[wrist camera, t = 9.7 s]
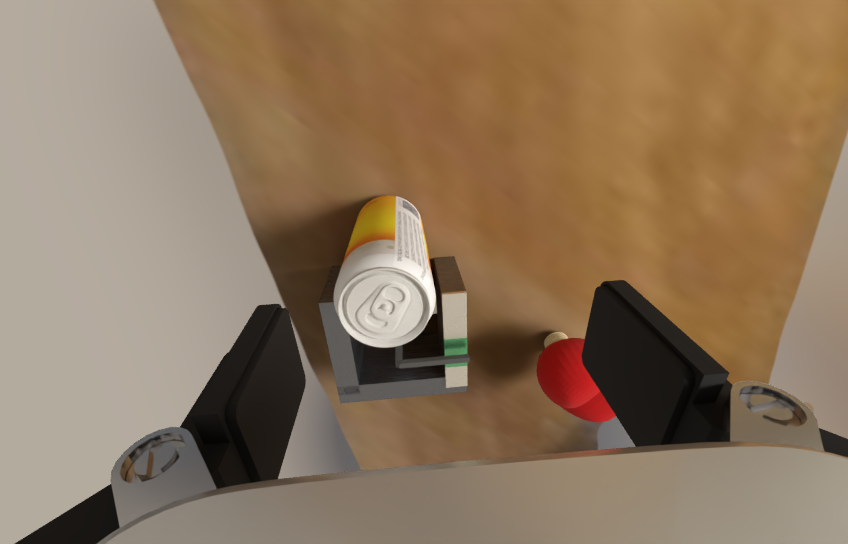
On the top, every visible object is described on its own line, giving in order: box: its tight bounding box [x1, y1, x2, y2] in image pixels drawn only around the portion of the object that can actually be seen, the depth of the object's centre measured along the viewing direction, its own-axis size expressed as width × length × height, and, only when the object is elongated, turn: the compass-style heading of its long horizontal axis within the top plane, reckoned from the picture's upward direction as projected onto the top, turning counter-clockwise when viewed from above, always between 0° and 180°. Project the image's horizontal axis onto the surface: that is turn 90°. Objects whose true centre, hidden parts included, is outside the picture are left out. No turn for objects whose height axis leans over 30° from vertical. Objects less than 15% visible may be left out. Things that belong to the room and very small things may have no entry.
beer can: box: [334, 195, 436, 348], centre depth 27 cm, size 6×6×15 cm
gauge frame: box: [318, 257, 467, 403], centre depth 35 cm, size 11×12×7 cm
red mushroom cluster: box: [537, 332, 616, 422], centre depth 37 cm, size 9×7×10 cm
